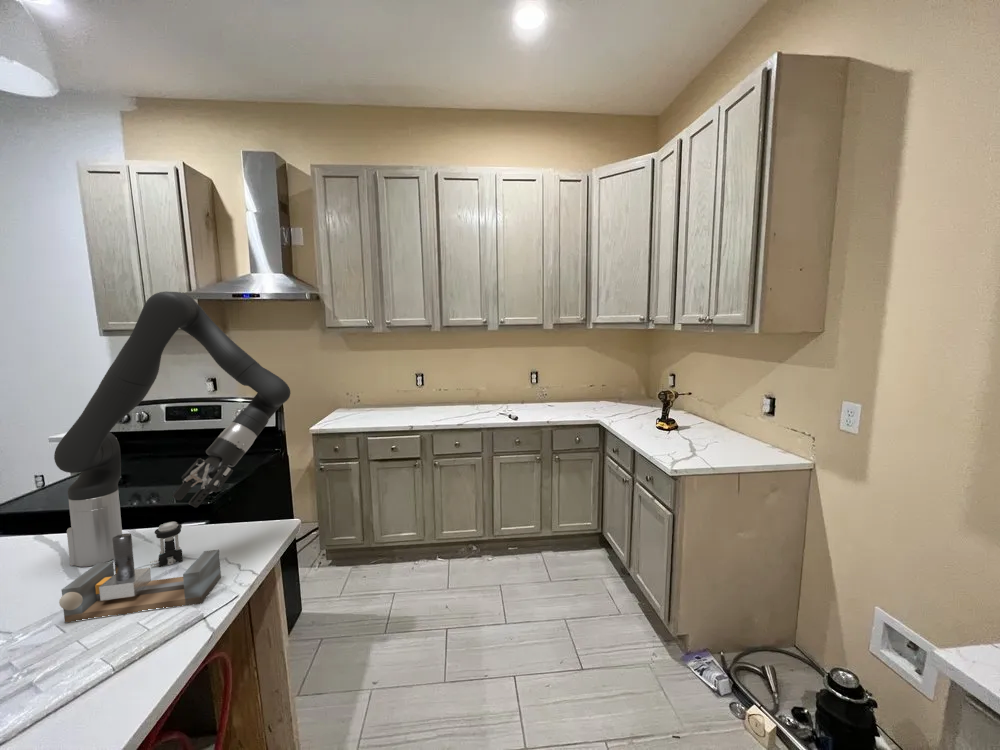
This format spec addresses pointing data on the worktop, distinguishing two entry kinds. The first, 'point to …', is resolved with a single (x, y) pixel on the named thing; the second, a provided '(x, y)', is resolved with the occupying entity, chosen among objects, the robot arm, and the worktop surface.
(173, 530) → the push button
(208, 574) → the rail base
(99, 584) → the orange block
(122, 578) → the carriage
